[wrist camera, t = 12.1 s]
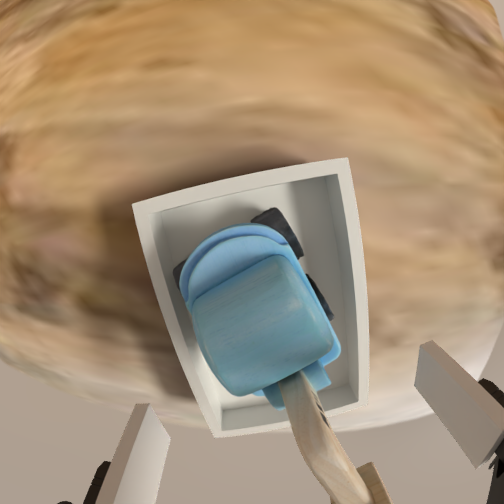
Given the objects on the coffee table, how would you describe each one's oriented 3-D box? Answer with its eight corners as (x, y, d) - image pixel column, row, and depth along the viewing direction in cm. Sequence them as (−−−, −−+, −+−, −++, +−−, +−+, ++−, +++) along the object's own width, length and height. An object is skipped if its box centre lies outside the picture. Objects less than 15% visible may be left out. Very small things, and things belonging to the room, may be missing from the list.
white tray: (155, 201, 23) (131, 203, 17) (324, 165, 22) (347, 157, 17) (217, 402, 27) (214, 438, 22) (350, 374, 27) (367, 404, 22)
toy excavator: (272, 397, 24) (296, 556, 7) (173, 252, 21) (25, 390, 4) (351, 357, 24) (437, 500, 7) (269, 197, 20) (380, 200, 4)
